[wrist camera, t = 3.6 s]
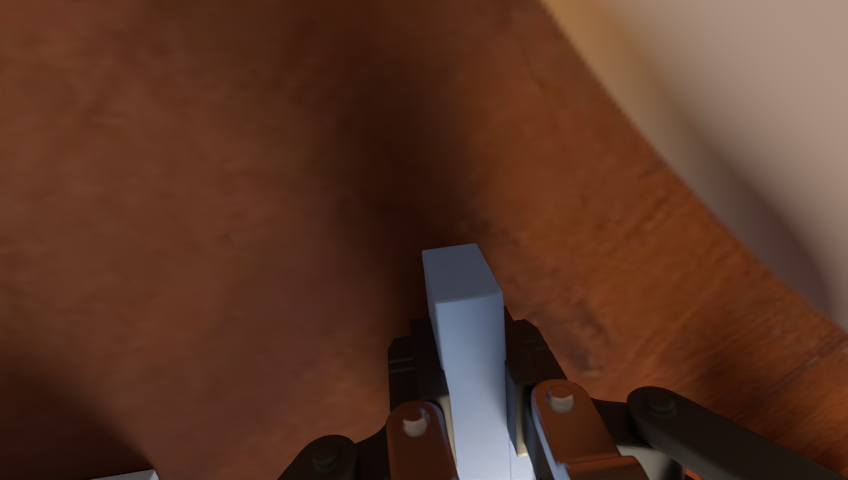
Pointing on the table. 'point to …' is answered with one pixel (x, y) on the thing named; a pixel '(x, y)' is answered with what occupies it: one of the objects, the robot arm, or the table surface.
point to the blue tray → (133, 476)
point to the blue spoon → (473, 360)
